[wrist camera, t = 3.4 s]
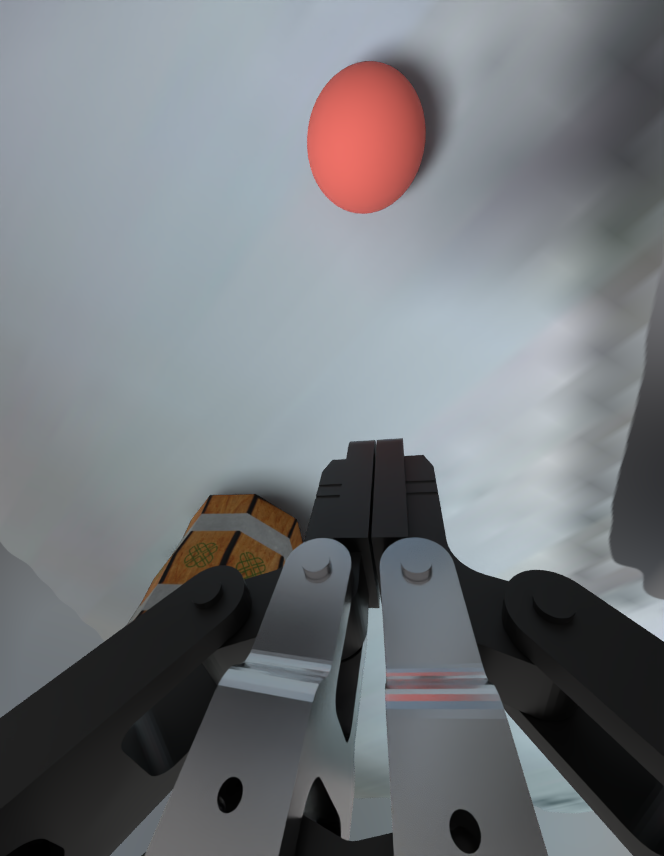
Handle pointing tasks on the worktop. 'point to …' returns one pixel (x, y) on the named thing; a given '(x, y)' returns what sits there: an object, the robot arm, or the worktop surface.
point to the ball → (366, 137)
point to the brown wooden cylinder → (227, 543)
